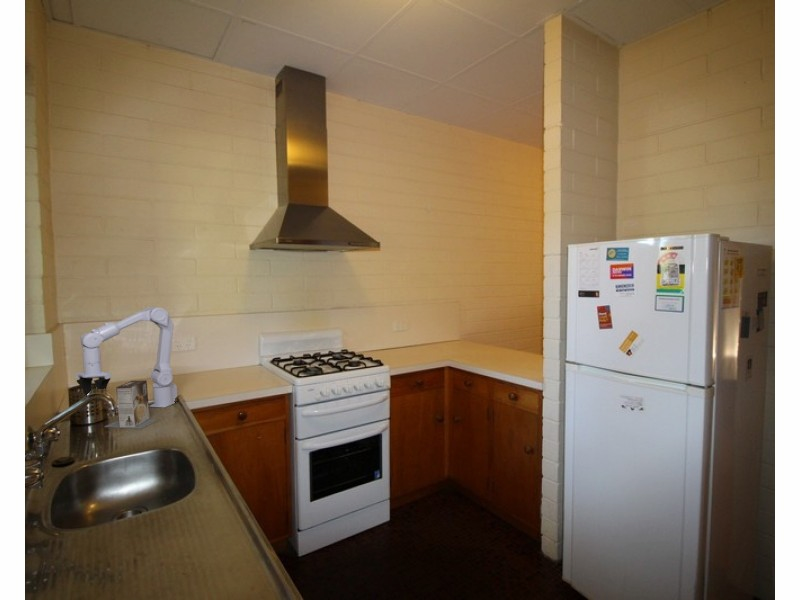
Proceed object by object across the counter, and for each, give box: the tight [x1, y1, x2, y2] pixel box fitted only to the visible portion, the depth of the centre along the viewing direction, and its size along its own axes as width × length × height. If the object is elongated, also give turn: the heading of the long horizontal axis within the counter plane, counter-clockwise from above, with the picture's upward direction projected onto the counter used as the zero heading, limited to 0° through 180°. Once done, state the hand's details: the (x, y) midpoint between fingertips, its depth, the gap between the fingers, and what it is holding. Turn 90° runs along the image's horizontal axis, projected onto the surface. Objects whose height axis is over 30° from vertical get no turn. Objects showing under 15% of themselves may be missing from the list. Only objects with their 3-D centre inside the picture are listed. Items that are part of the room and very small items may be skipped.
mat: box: [104, 418, 159, 430], centre depth 163 cm, size 9×16×1 cm, turn 80°
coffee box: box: [116, 379, 151, 427], centre depth 162 cm, size 9×6×16 cm
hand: (95, 395), depth 166 cm, fingers open, 6 cm apart
